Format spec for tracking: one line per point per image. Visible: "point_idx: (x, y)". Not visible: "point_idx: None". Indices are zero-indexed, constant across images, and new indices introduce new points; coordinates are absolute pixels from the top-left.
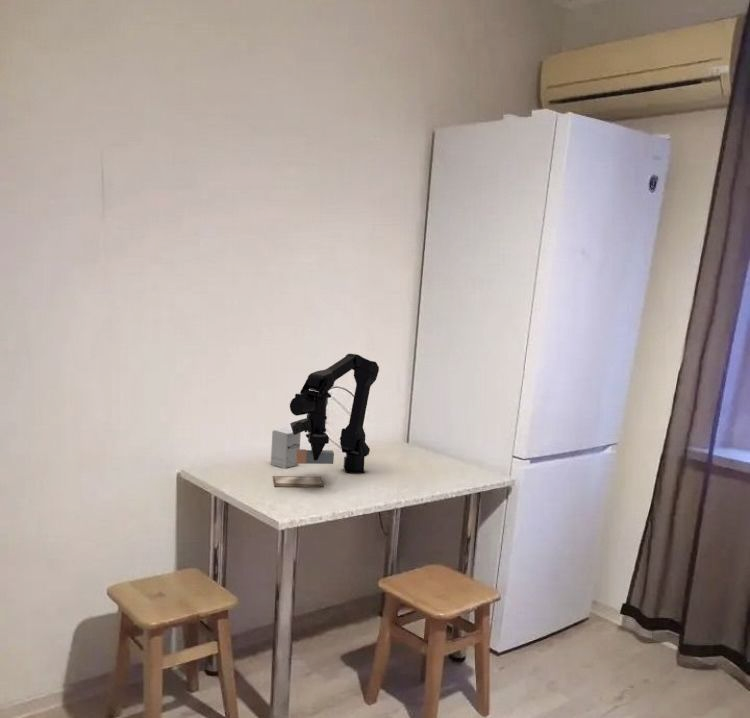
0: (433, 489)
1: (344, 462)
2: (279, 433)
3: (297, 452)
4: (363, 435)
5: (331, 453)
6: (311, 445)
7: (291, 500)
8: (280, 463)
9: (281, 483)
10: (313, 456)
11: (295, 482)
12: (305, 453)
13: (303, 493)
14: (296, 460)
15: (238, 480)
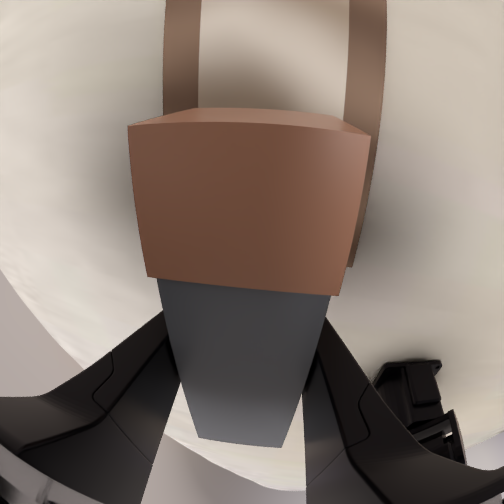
0: (203, 446)
1: (423, 384)
2: None
3: (130, 129)
4: None
5: (197, 428)
6: (331, 405)
7: (11, 99)
8: None
9: (200, 15)
10: (163, 313)
11: (216, 97)
12: (150, 253)
13: (77, 139)
14: (236, 109)
15: None
